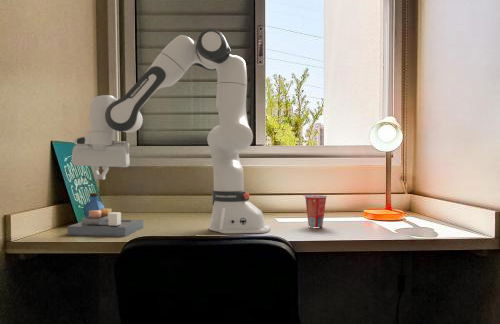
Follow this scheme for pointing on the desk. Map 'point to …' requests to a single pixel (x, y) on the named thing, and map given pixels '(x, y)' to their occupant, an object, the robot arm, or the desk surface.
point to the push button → (95, 214)
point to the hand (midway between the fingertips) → (100, 179)
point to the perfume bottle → (92, 204)
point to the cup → (315, 209)
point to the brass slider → (106, 211)
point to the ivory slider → (114, 218)
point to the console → (104, 227)
